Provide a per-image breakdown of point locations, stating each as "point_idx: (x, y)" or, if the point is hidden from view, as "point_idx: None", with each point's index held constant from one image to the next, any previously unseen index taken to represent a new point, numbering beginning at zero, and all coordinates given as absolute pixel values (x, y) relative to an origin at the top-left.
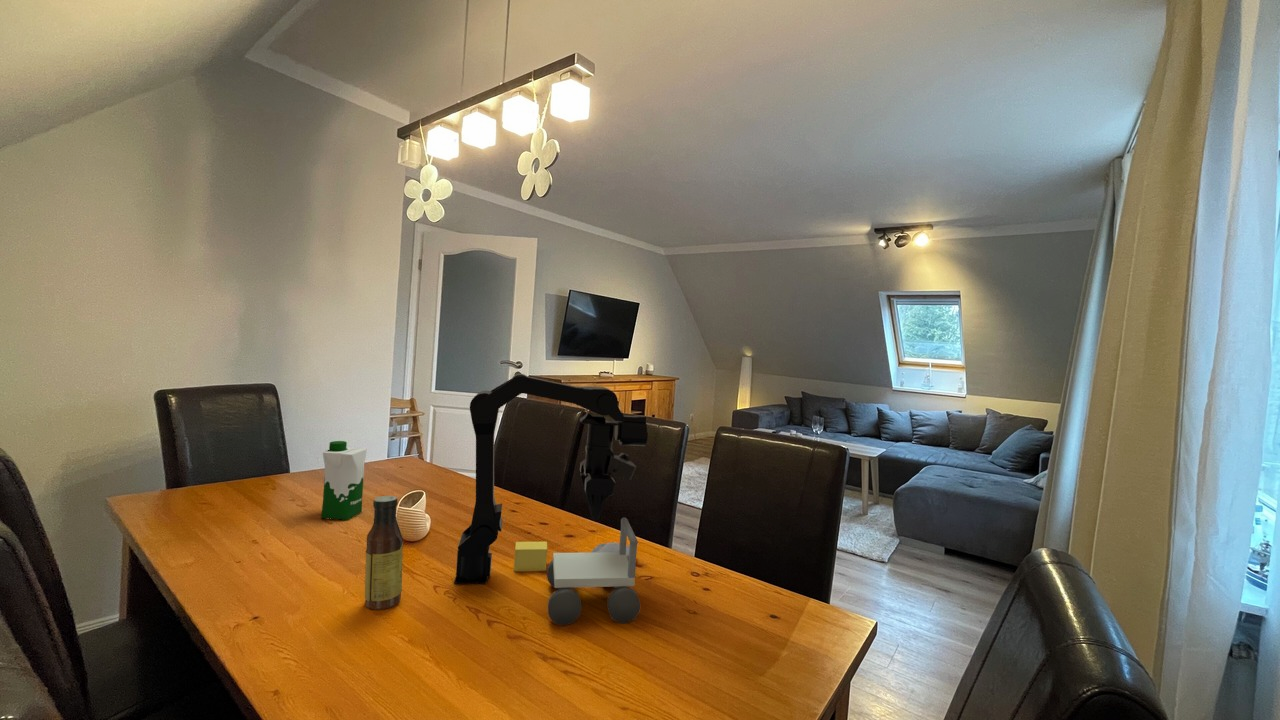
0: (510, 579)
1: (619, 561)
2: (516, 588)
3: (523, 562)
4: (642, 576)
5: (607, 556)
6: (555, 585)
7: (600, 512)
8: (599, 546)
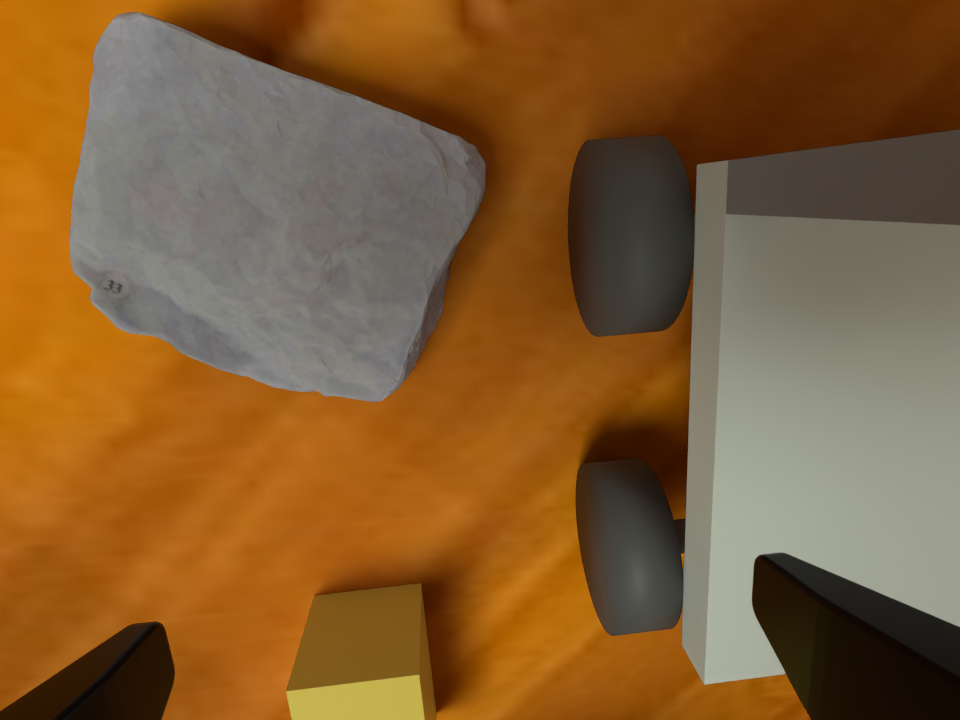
0: (521, 710)
1: (905, 225)
2: (608, 674)
3: (432, 715)
4: (467, 11)
5: (802, 321)
6: None
7: (916, 611)
8: (140, 314)
